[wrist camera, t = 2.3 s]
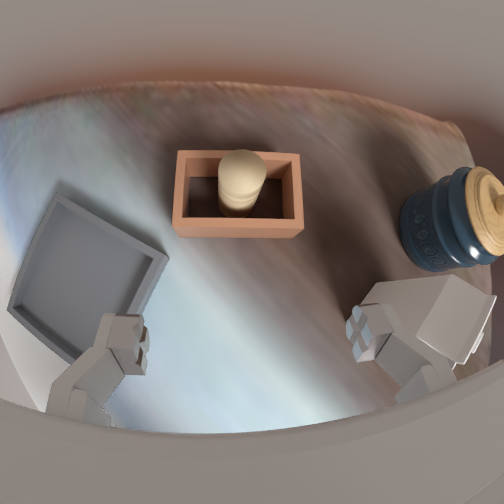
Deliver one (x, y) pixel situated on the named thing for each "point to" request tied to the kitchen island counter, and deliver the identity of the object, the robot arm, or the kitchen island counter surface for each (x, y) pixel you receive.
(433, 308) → the milk carton
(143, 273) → the charcoal tray
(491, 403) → the robot arm
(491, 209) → the canister
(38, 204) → the kitchen island counter surface
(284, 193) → the terracotta planter box
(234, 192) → the birch peg
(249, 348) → the kitchen island counter surface
